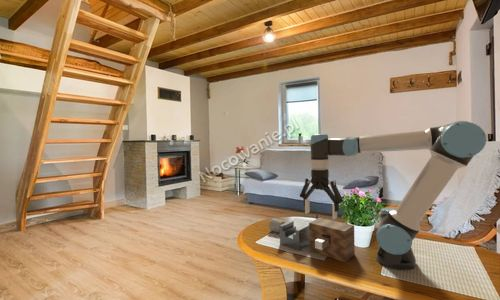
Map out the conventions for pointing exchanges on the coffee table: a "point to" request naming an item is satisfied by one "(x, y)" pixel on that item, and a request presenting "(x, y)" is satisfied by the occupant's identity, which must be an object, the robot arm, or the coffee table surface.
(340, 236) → the brown wooden box
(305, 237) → the v block
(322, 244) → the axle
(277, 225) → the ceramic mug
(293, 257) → the coffee table surface
